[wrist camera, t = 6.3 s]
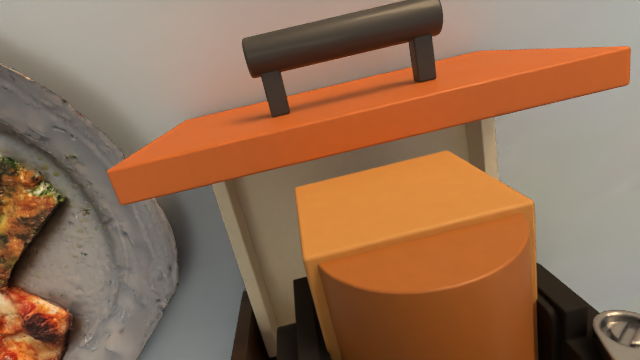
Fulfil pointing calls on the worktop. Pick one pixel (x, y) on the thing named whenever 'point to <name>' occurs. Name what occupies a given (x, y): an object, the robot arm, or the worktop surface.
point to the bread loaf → (421, 263)
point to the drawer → (347, 129)
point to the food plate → (72, 237)
